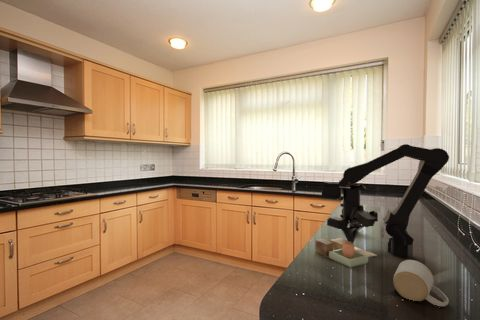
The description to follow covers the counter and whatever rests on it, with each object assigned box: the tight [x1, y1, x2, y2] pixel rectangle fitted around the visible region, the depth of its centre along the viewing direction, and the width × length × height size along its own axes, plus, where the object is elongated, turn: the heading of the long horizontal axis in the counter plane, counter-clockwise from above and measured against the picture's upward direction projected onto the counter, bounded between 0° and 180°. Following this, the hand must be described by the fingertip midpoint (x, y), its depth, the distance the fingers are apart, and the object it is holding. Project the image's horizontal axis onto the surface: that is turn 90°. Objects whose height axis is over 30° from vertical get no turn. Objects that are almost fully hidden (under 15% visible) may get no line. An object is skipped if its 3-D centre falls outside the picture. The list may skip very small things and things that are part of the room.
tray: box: [328, 249, 369, 268], centre depth 78 cm, size 8×8×2 cm
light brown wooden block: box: [329, 237, 352, 250], centre depth 87 cm, size 5×5×3 cm
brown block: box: [314, 238, 333, 258], centre depth 83 cm, size 5×3×4 cm, turn 27°
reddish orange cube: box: [342, 243, 355, 259], centre depth 78 cm, size 4×4×4 cm
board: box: [314, 246, 377, 261], centre depth 84 cm, size 12×16×2 cm
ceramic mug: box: [392, 259, 450, 307], centre depth 59 cm, size 11×8×8 cm
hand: (350, 244), depth 89 cm, fingers closed
